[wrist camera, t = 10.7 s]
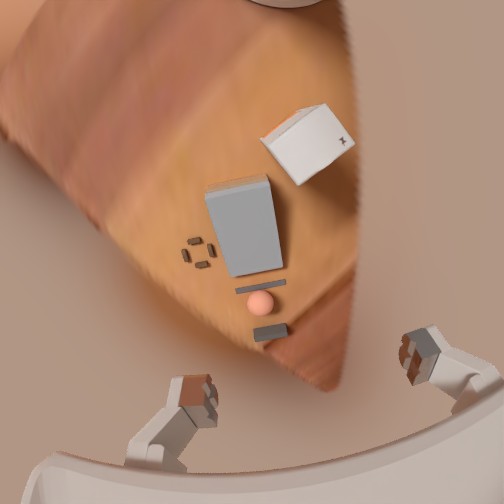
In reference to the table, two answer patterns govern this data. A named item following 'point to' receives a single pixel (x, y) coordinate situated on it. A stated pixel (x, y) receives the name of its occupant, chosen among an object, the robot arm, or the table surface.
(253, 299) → the ball
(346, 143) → the skincare box
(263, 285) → the line
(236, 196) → the ramp
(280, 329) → the rail
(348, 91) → the table surface
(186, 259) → the stand
